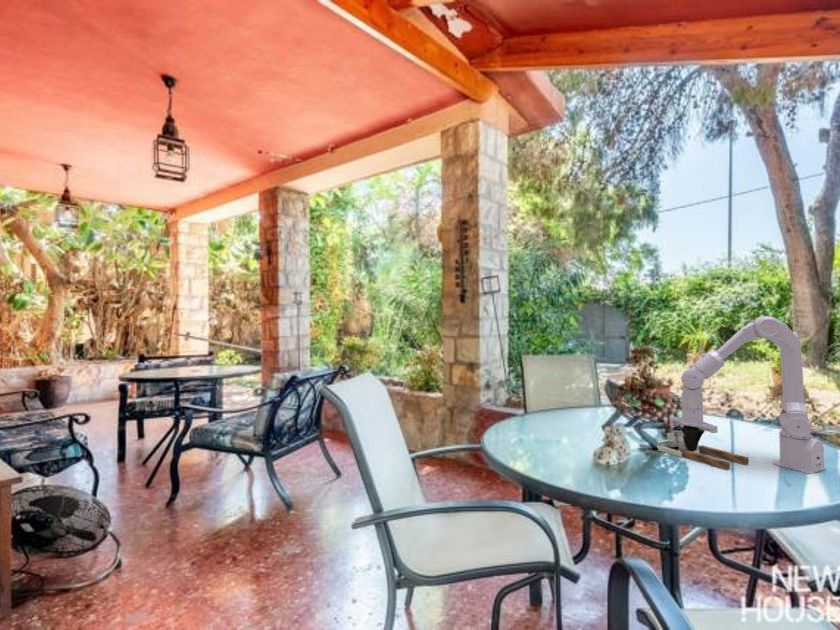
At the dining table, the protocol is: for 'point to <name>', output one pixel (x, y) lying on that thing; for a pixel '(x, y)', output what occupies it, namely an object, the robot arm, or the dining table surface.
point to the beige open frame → (668, 450)
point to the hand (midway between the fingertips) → (693, 450)
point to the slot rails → (715, 453)
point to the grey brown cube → (683, 443)
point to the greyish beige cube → (674, 438)
